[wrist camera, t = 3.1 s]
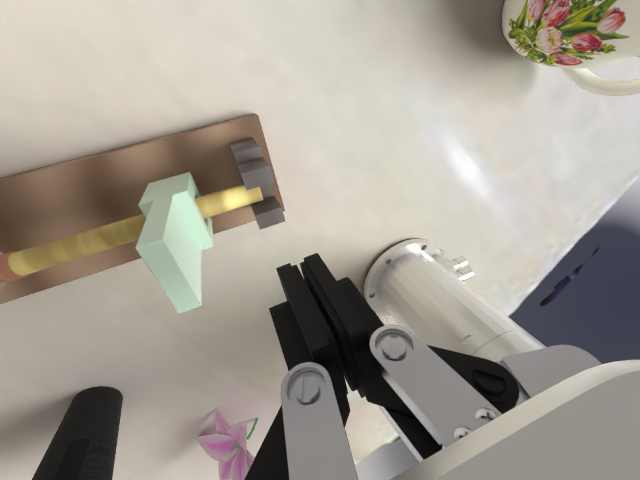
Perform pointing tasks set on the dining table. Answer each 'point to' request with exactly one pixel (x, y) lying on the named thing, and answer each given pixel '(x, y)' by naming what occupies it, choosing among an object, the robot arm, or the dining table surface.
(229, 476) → the lily
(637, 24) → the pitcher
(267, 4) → the dining table surface
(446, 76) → the dining table surface
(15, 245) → the wooden rod slider stand
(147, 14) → the dining table surface
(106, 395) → the drinking cup
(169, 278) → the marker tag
